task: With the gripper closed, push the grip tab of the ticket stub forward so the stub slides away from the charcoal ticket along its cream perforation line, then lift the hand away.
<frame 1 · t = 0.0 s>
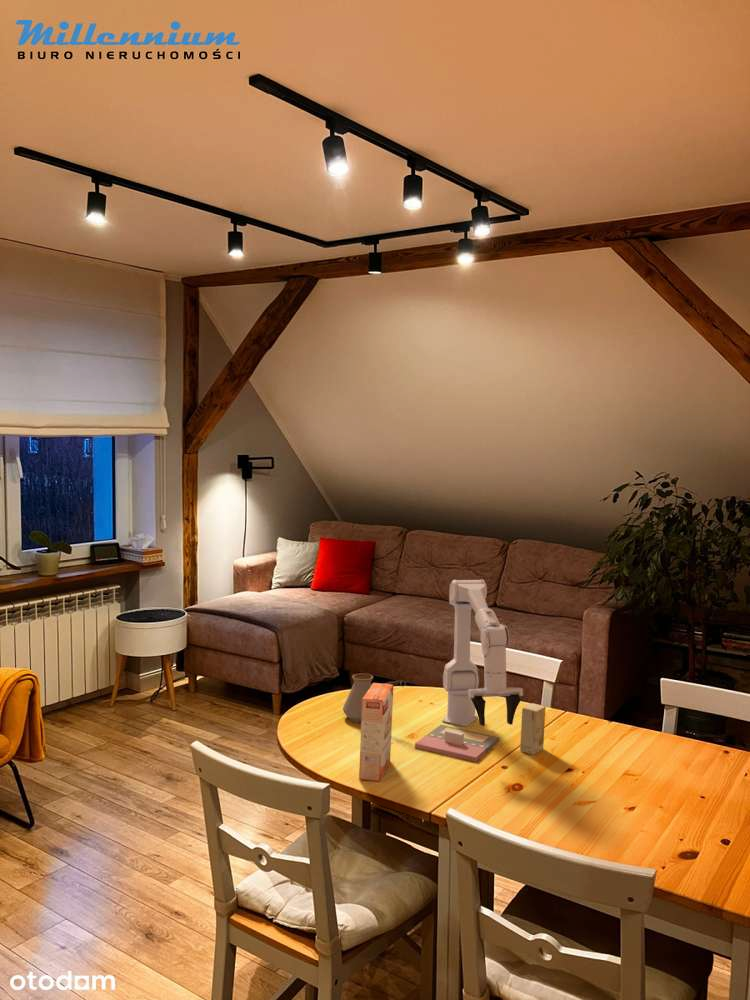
hand: (496, 724, 216), 11 cm above the table, tool pointing down, fingers open, 7 cm apart
ticket stub: (450, 742, 224), point 2 cm above the table, slide at 0.0 cm
cracker box: (375, 771, 210), on the table
ticket: (462, 740, 232), on the table
coffee pot: (374, 722, 244), on the table
skincare box: (531, 750, 226), on the table
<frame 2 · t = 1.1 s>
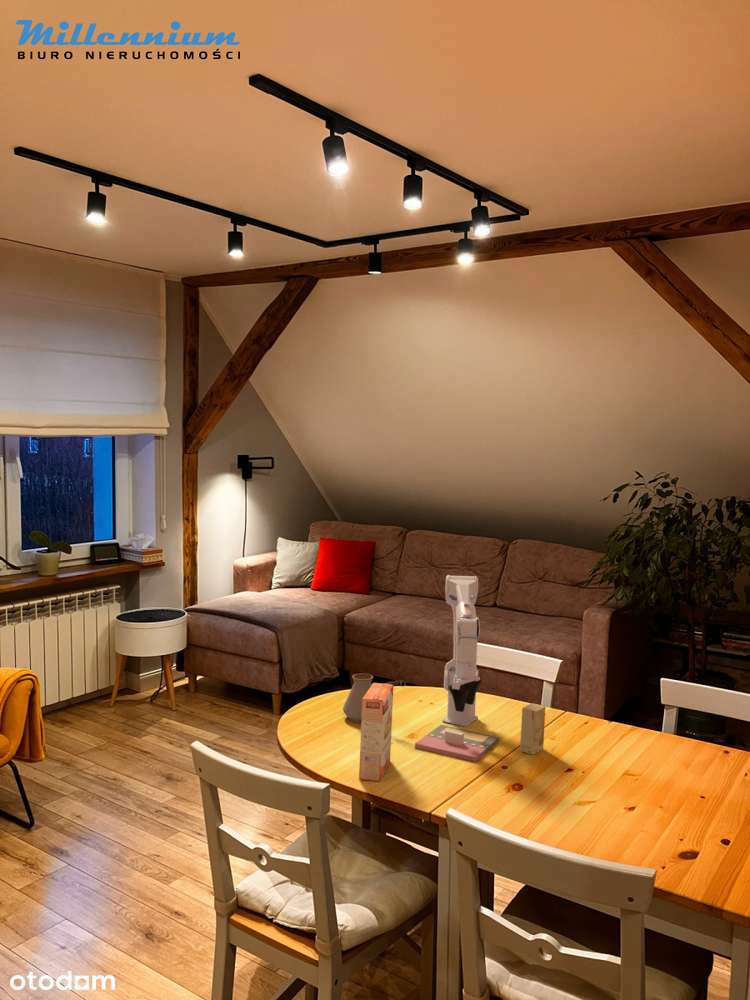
hand: (464, 707, 231), 9 cm above the table, tool pointing down, fingers open, 6 cm apart
nothing on the table moved.
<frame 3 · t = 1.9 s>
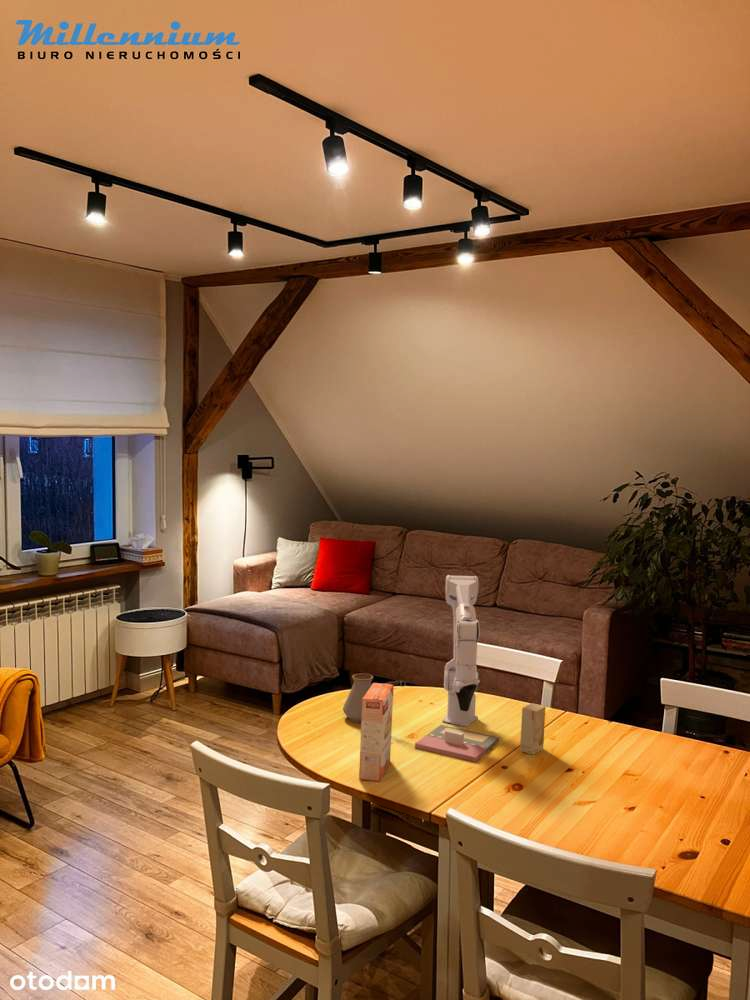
hand: (464, 710, 231), 9 cm above the table, tool pointing down, fingers closed
nothing on the table moved.
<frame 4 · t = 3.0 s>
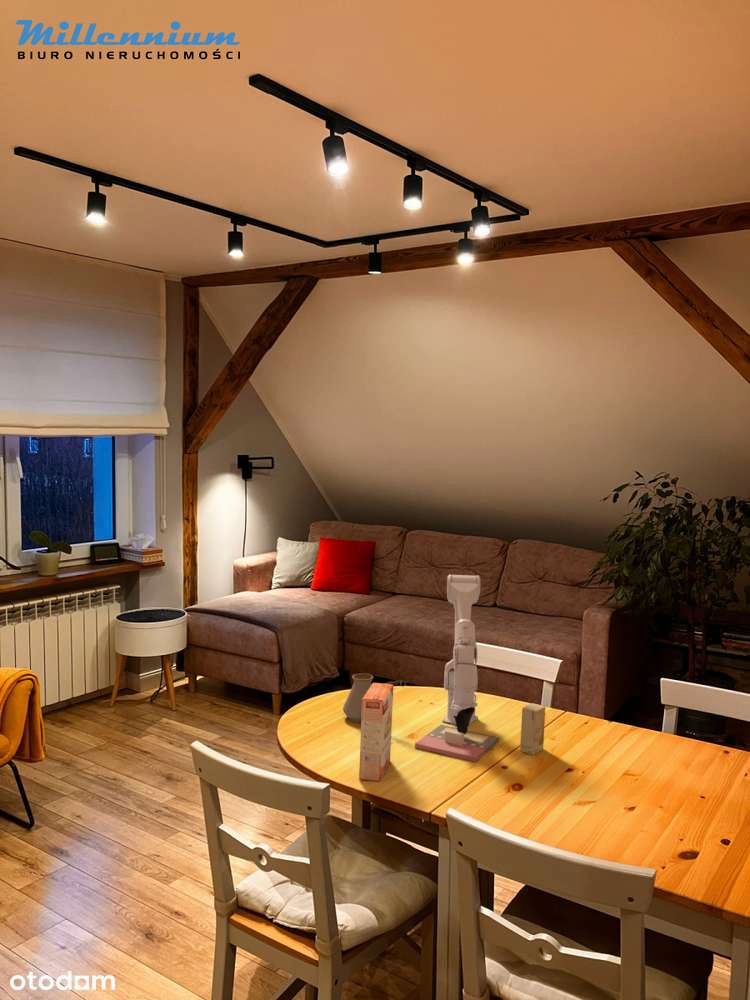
hand: (462, 733, 231), 2 cm above the table, tool pointing down, fingers closed
nothing on the table moved.
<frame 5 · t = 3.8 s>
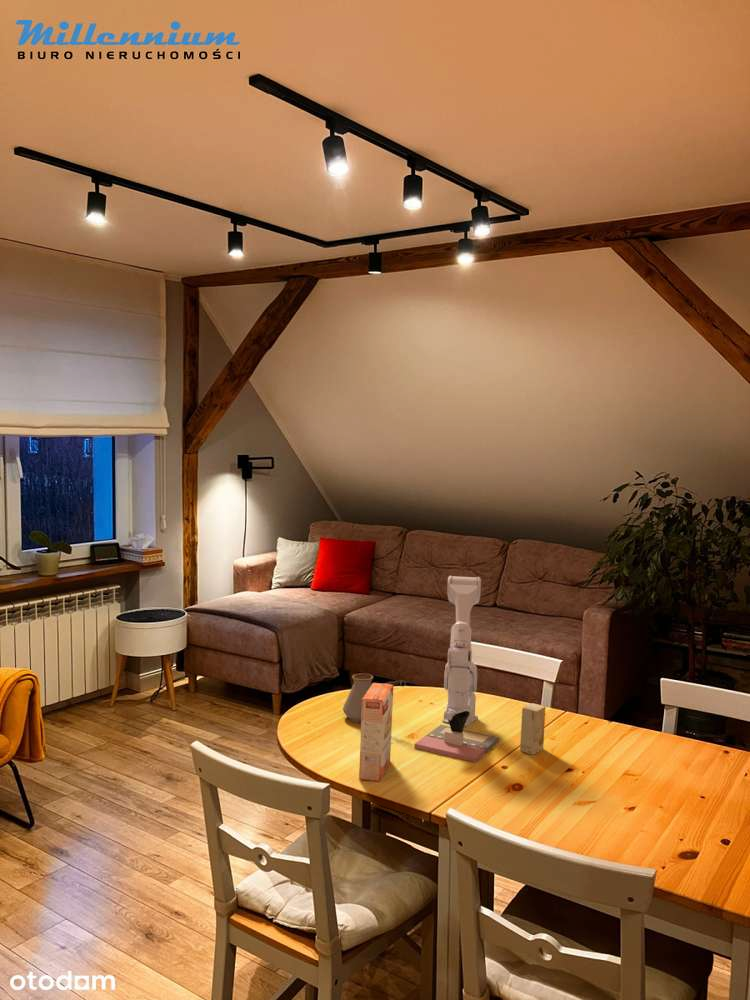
hand: (456, 737, 228), 2 cm above the table, tool pointing down, fingers closed
ticket stub: (449, 743, 224), point 2 cm above the table, slide at 0.3 cm, touching gripper
everything else where it was.
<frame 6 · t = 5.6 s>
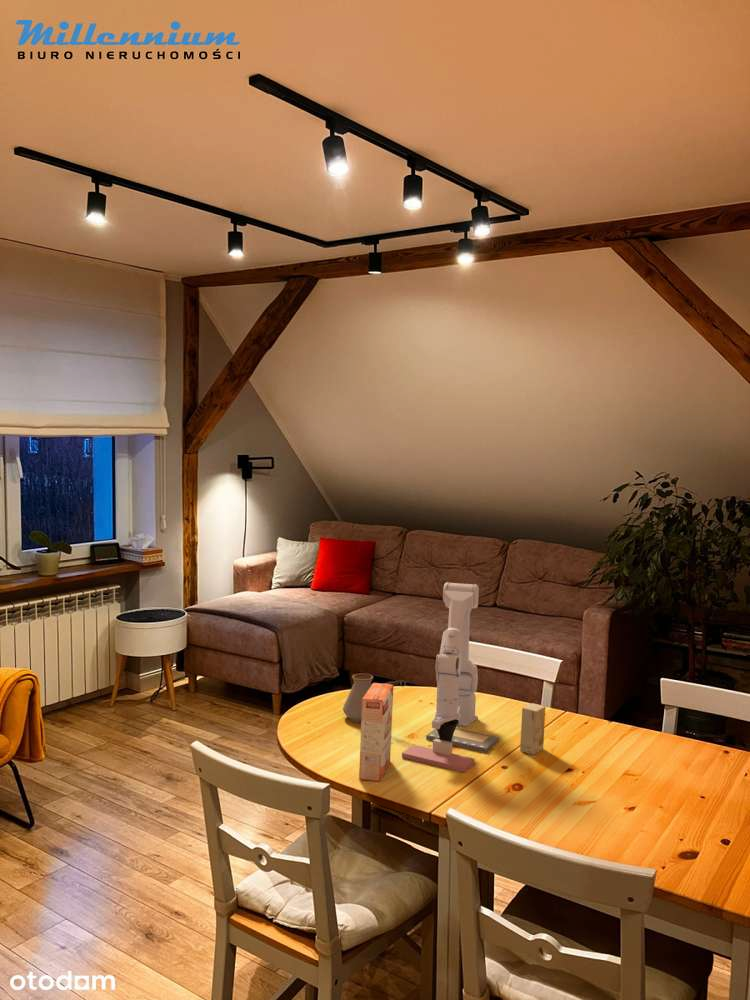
hand: (445, 746, 221), 2 cm above the table, tool pointing down, fingers closed
ticket stub: (438, 752, 217), point 2 cm above the table, slide at 7.9 cm, touching gripper
everything else where it was.
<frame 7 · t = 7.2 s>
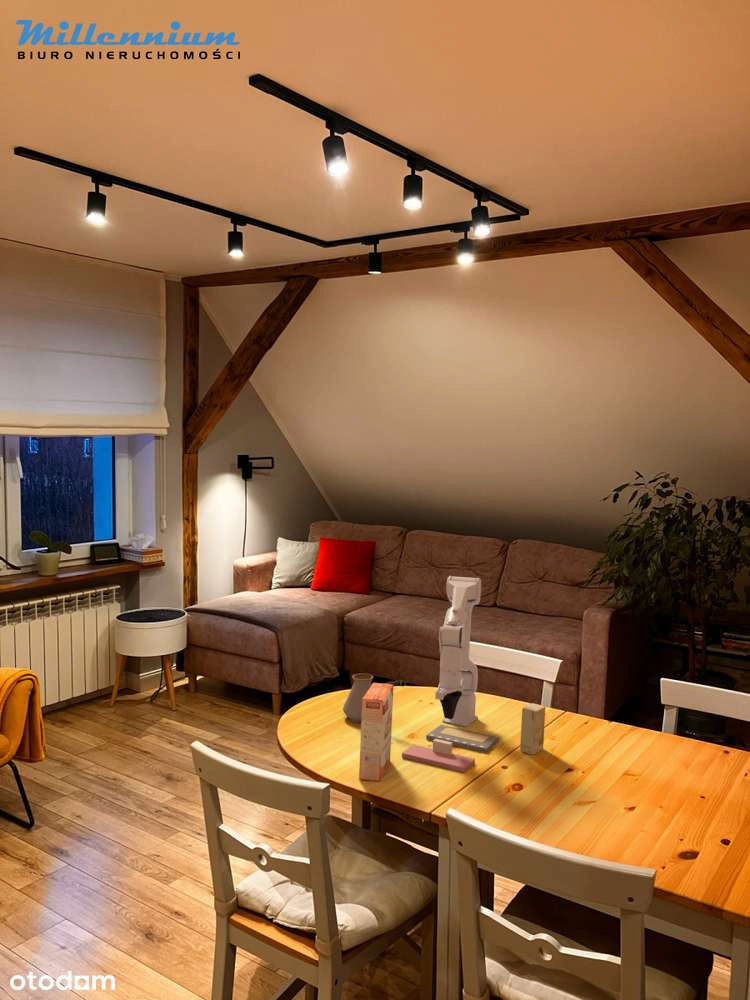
hand: (448, 717, 223), 9 cm above the table, tool pointing down, fingers closed
ticket stub: (438, 752, 217), point 2 cm above the table, slide at 7.9 cm
everything else where it was.
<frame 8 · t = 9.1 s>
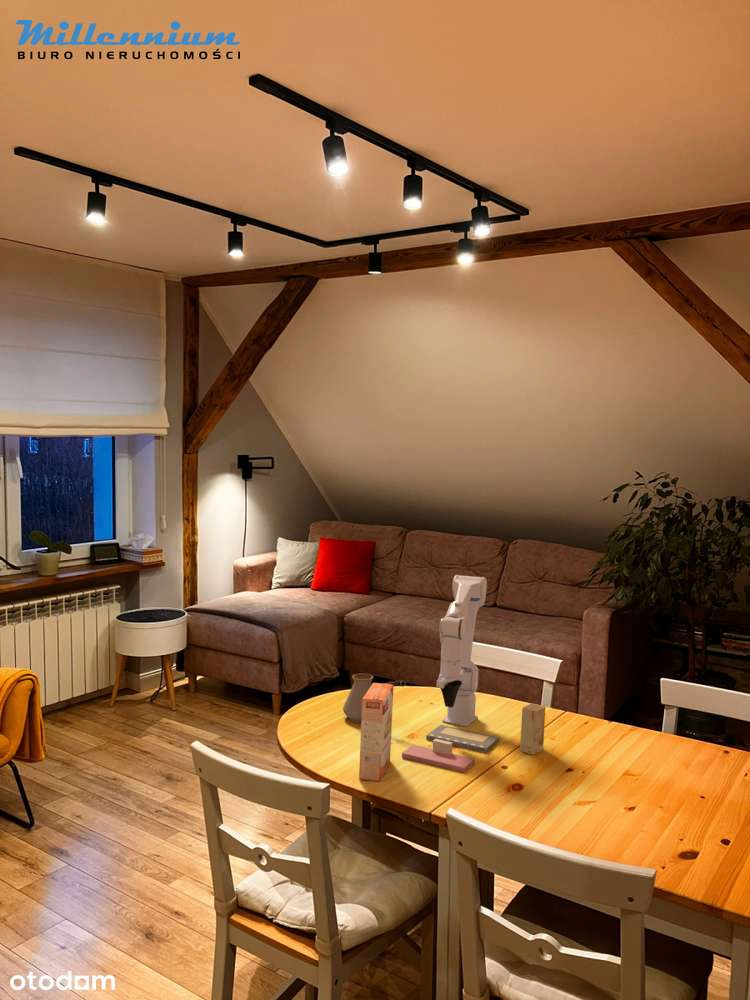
hand: (449, 706, 232), 9 cm above the table, tool pointing down, fingers closed
nothing on the table moved.
at the end: ticket stub slide at 7.9 cm; skincare box moved 0.2 cm from its start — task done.
